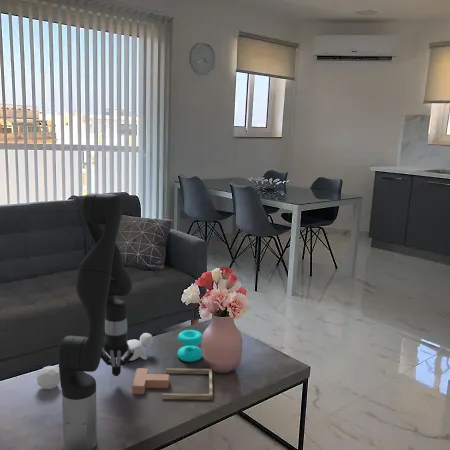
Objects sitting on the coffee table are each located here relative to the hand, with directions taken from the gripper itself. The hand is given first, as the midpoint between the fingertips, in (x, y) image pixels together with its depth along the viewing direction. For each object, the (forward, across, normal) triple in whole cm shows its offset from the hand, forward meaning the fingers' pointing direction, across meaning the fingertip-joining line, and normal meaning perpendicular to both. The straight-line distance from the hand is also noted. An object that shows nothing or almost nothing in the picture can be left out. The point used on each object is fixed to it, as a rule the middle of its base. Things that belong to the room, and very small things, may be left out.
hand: (116, 374), depth 172 cm
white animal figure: (+4, +4, +20) cm, 21 cm away
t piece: (+3, +12, 0) cm, 13 cm away
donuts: (+4, +26, +21) cm, 33 cm away
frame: (+3, +26, 0) cm, 26 cm away
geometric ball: (+4, -22, -3) cm, 23 cm away
